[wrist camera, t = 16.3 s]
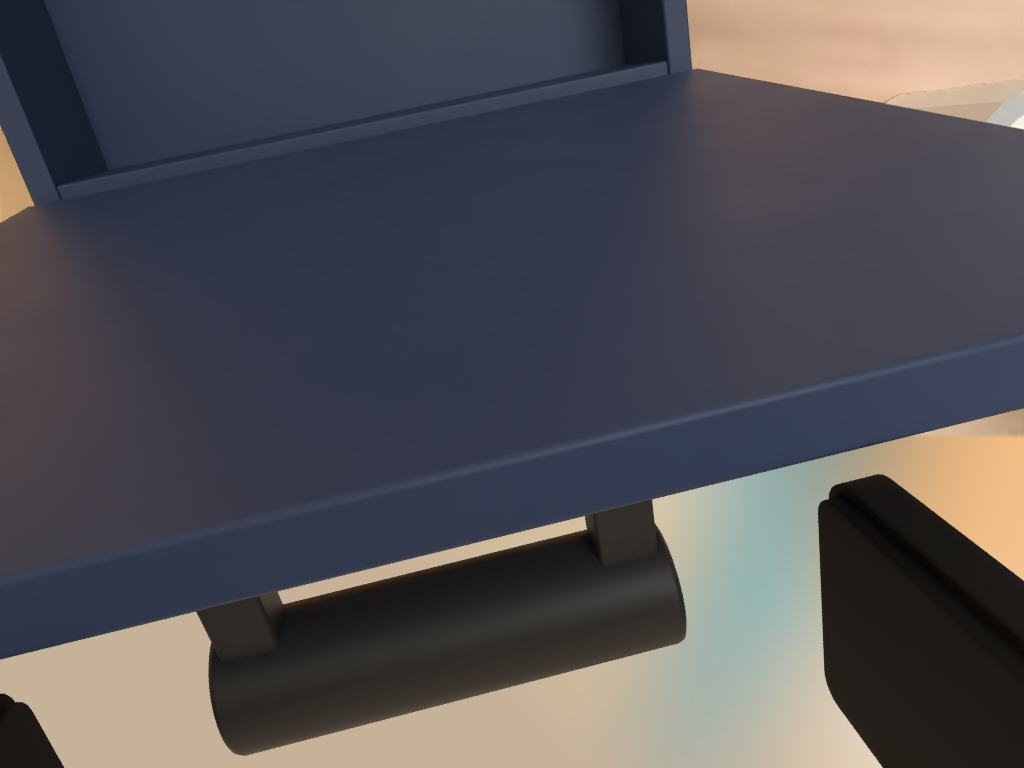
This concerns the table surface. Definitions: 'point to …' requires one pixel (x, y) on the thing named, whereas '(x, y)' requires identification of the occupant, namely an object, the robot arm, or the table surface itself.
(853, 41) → the table surface
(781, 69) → the table surface
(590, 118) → the lid
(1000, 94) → the white short cylinder
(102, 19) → the blue shallow open box
